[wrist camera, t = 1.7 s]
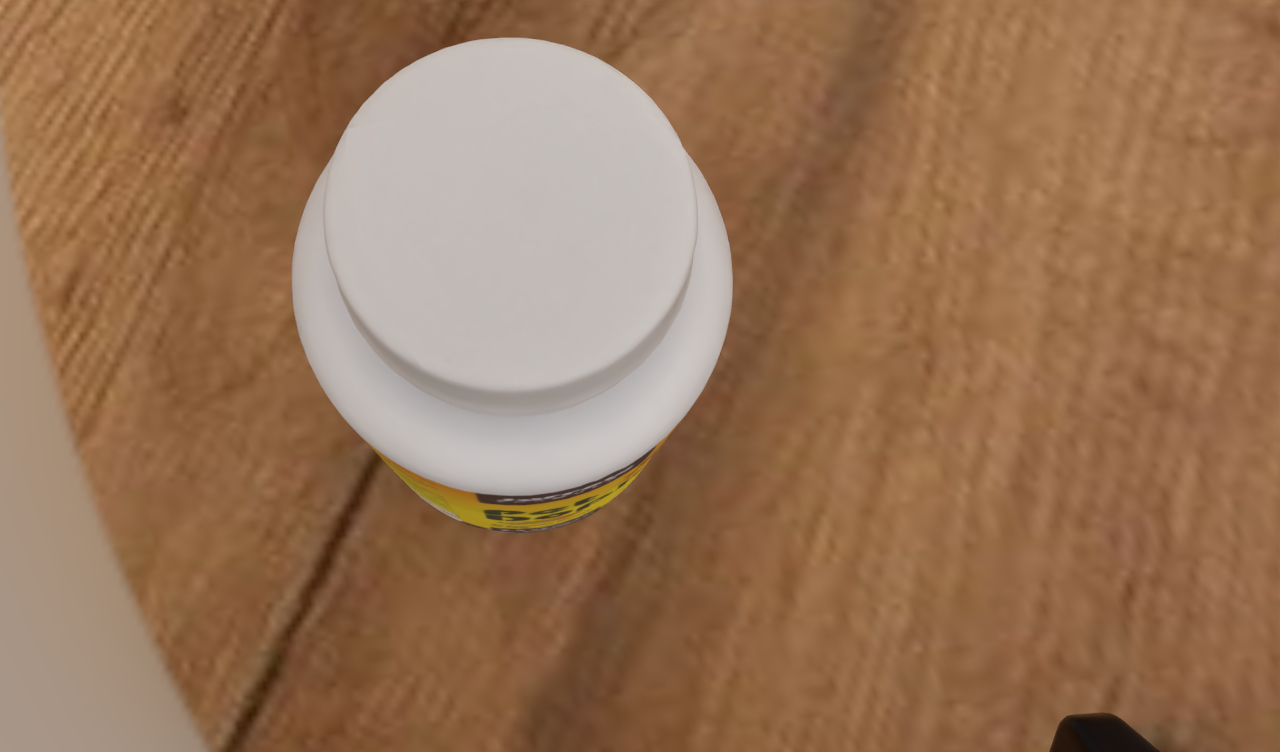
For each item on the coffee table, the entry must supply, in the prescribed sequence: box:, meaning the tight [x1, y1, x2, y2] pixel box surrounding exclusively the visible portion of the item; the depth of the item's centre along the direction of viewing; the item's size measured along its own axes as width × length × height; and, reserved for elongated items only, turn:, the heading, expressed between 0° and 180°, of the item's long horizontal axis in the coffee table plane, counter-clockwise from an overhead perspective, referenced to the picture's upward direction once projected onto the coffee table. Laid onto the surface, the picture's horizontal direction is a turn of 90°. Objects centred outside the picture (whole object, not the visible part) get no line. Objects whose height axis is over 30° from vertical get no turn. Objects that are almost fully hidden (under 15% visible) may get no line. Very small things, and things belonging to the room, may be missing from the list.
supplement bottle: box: [292, 38, 733, 533], centre depth 17 cm, size 6×6×10 cm
